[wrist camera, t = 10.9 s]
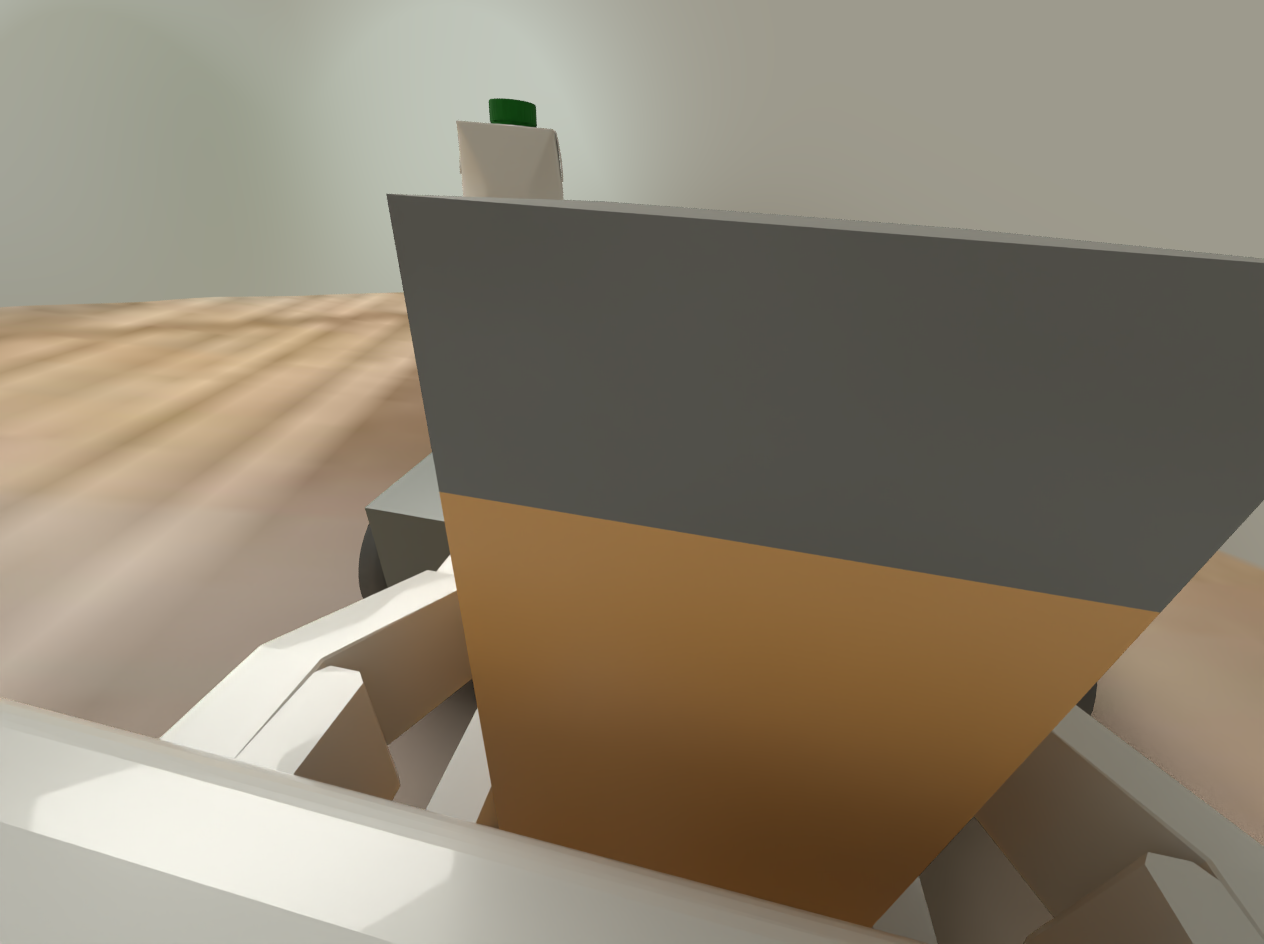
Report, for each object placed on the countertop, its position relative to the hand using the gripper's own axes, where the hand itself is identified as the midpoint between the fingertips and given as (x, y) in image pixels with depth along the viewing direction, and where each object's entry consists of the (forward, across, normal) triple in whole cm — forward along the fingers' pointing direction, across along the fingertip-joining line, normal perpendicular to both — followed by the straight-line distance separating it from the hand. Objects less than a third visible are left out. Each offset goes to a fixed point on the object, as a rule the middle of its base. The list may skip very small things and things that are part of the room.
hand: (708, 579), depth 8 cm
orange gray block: (-1, 0, +6) cm, 7 cm away
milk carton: (+40, +20, +8) cm, 46 cm away
